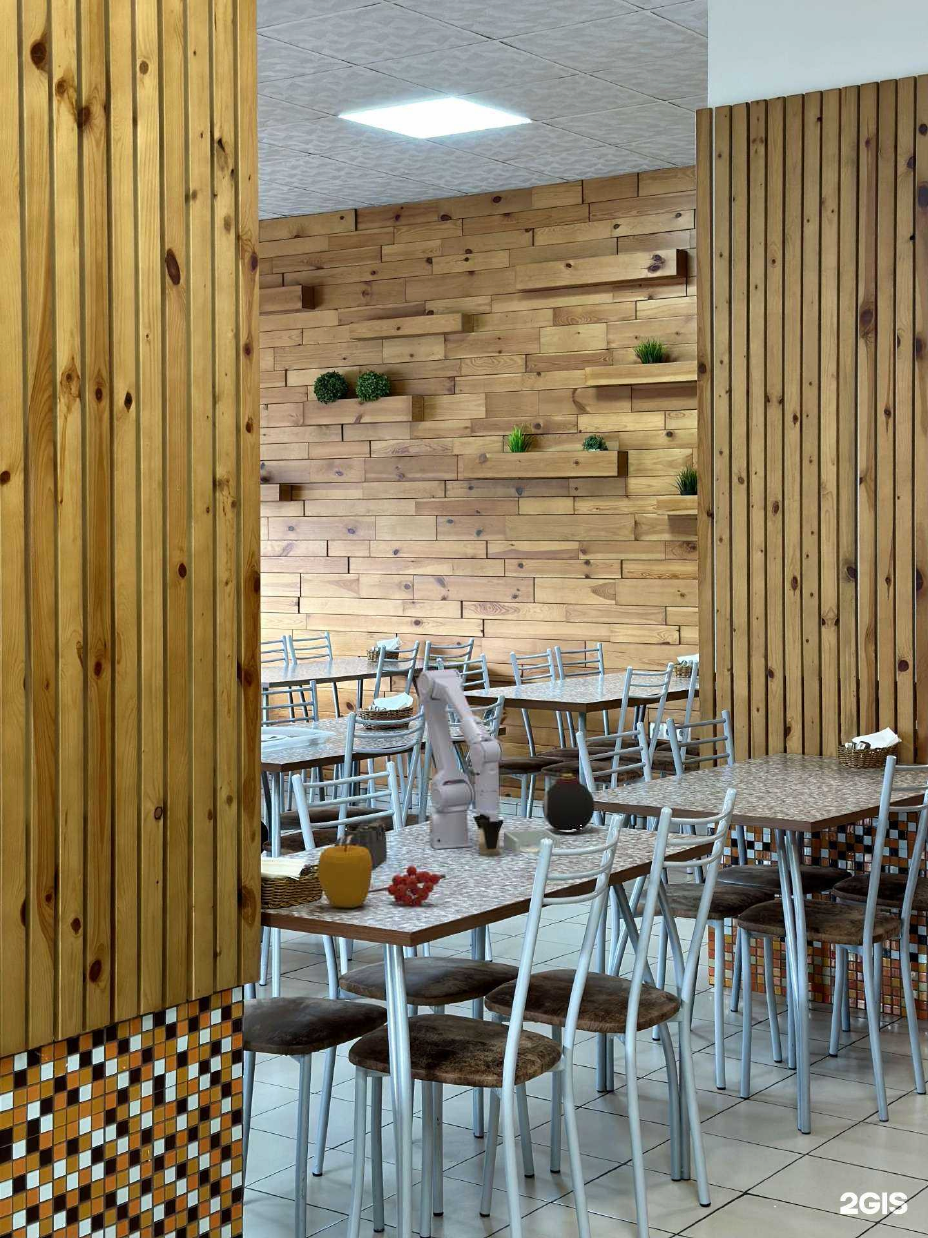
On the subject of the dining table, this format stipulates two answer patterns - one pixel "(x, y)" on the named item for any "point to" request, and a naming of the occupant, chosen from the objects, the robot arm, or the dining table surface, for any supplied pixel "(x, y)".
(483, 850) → the birch cylinder
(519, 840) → the shallow grey tray
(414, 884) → the decorative berry sprig
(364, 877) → the apple
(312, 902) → the dining table surface
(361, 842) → the camera
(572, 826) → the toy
